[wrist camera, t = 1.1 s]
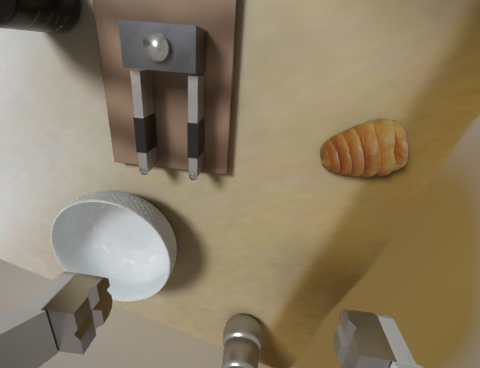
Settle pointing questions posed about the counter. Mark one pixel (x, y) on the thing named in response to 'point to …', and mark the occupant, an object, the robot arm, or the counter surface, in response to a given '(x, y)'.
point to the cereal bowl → (116, 243)
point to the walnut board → (171, 80)
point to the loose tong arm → (195, 124)
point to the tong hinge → (163, 46)
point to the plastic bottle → (241, 342)
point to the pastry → (367, 149)
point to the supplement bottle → (39, 15)
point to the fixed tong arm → (144, 119)
